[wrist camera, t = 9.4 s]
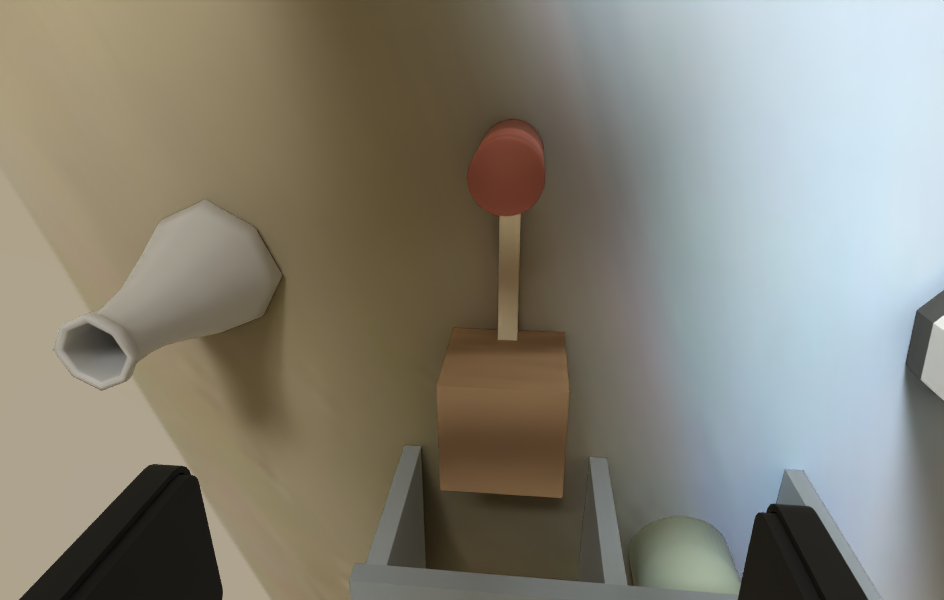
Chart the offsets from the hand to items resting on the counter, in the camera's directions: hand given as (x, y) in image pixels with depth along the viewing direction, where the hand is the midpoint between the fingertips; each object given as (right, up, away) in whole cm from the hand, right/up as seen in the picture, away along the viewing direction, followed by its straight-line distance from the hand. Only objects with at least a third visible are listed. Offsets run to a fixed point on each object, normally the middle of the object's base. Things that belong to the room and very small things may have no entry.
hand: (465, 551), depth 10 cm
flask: (-14, +6, +23) cm, 27 cm away
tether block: (+2, +5, +21) cm, 22 cm away
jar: (+13, -12, +27) cm, 32 cm away
